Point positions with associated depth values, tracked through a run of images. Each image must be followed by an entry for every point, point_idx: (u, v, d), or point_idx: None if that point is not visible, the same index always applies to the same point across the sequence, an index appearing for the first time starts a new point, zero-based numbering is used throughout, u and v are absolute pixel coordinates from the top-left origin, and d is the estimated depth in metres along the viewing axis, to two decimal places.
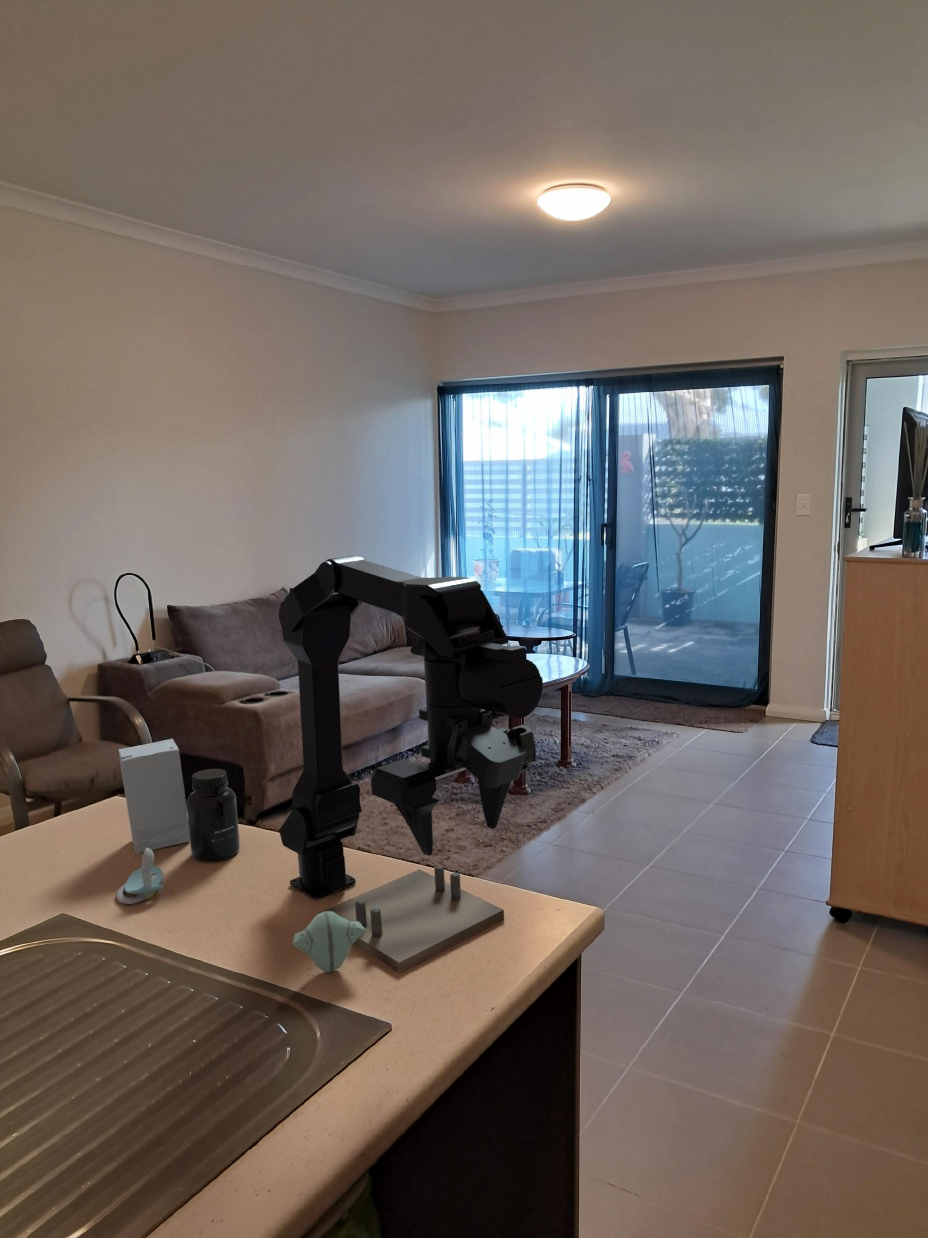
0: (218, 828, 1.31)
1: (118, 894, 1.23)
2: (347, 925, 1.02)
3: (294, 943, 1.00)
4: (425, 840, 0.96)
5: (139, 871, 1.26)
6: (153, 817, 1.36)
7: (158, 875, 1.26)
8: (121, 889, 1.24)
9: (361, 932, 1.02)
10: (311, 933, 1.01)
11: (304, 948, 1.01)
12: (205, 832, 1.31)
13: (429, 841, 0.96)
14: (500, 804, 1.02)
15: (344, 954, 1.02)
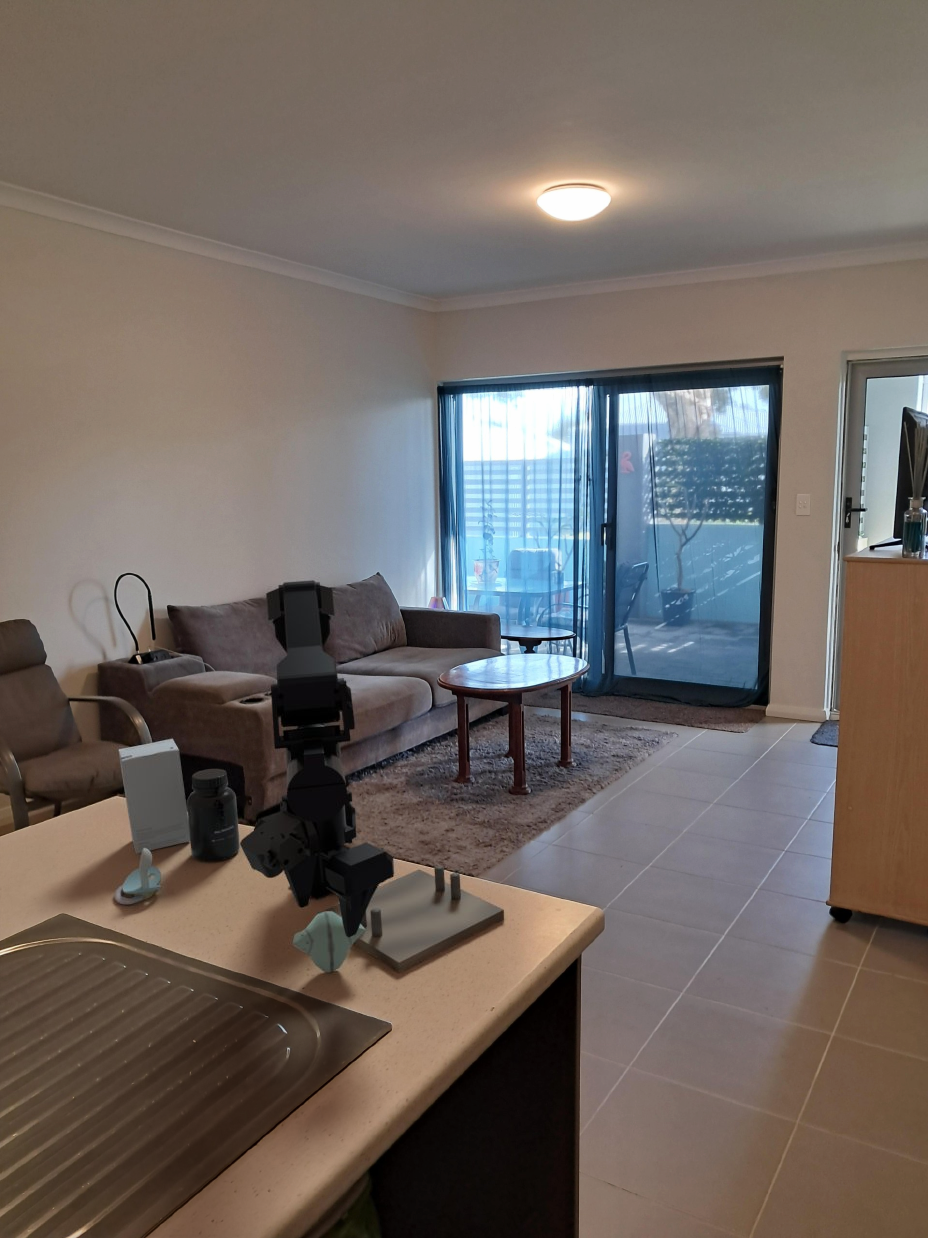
0: (218, 828, 1.32)
1: (116, 894, 1.22)
2: None
3: (294, 943, 1.00)
4: (293, 889, 1.06)
5: (137, 871, 1.26)
6: (153, 817, 1.36)
7: (156, 875, 1.26)
8: (119, 889, 1.24)
9: (361, 932, 1.02)
10: (311, 933, 1.01)
11: (304, 948, 1.01)
12: (205, 832, 1.31)
13: (294, 893, 1.05)
14: (343, 916, 0.98)
15: (344, 954, 1.02)
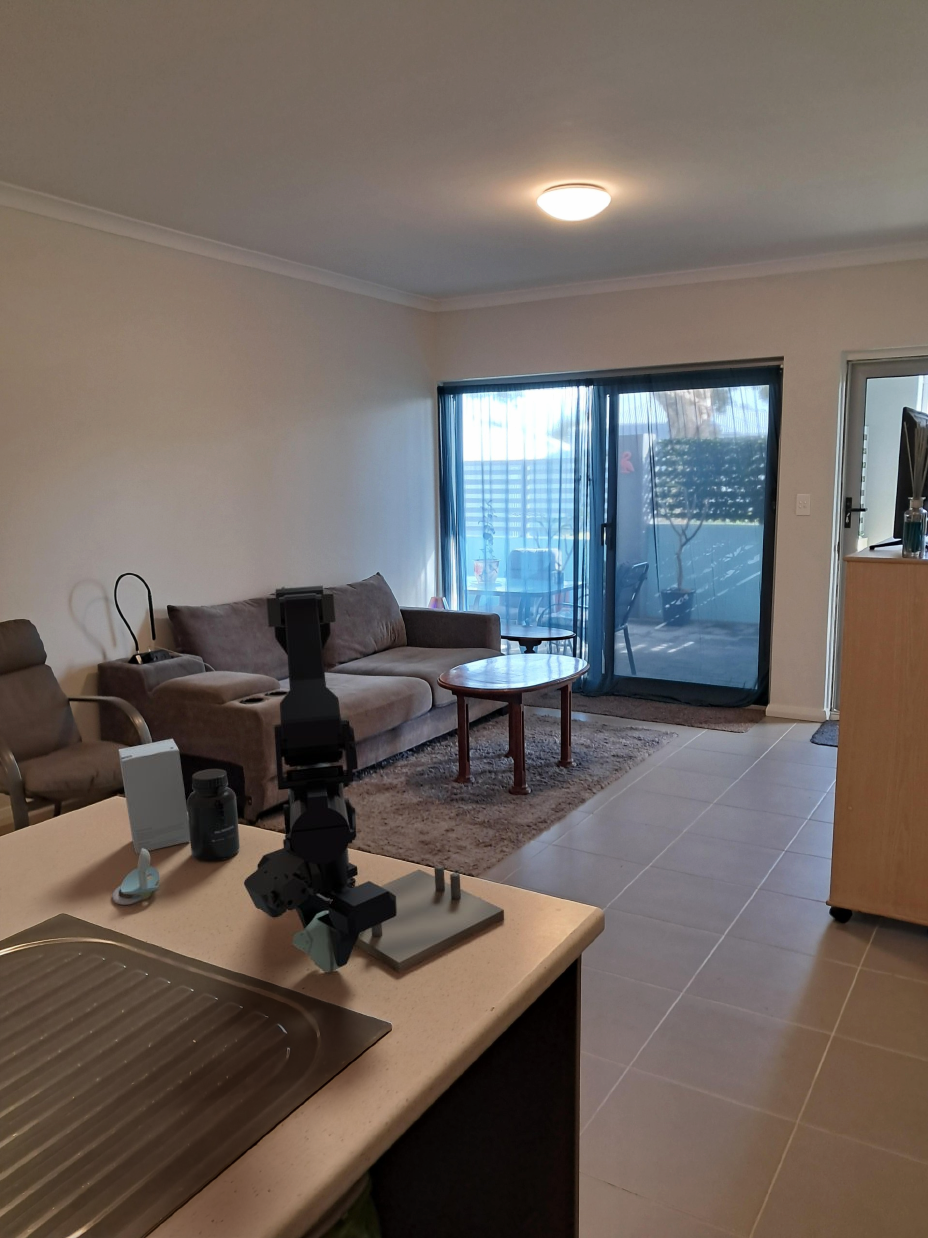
0: (218, 828, 1.31)
1: (114, 895, 1.22)
2: None
3: (294, 942, 1.00)
4: None
5: (135, 872, 1.26)
6: (153, 817, 1.36)
7: (154, 876, 1.26)
8: (117, 890, 1.24)
9: None
10: (310, 932, 1.01)
11: (304, 947, 1.01)
12: (205, 832, 1.31)
13: None
14: (334, 946, 1.00)
15: None
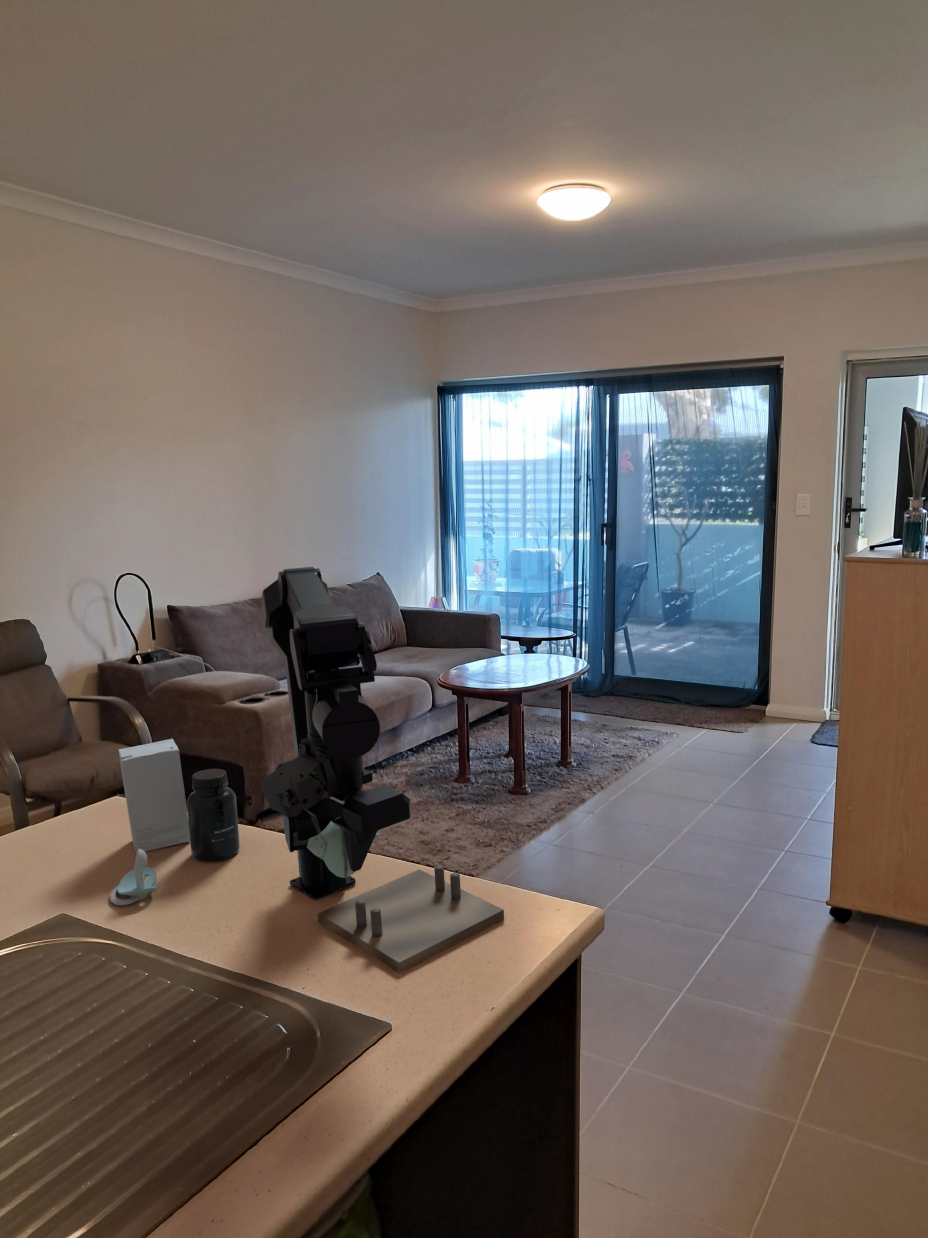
0: (218, 828, 1.32)
1: (111, 895, 1.22)
2: None
3: (308, 846, 1.01)
4: None
5: (132, 872, 1.26)
6: (153, 817, 1.36)
7: (151, 876, 1.26)
8: (114, 890, 1.24)
9: (375, 837, 1.03)
10: (325, 837, 1.02)
11: (318, 852, 1.02)
12: (205, 832, 1.31)
13: None
14: (348, 850, 1.01)
15: None
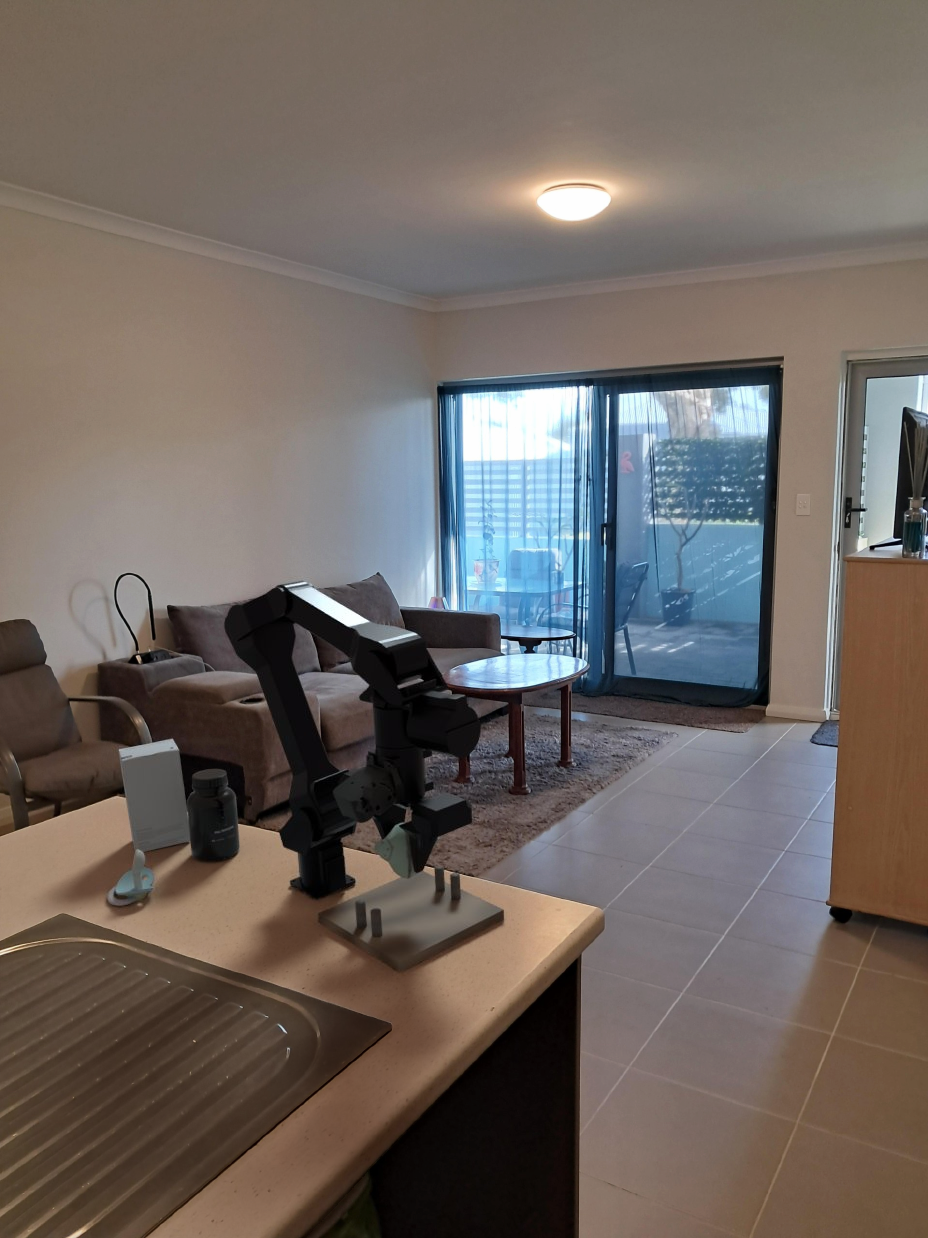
0: (218, 828, 1.31)
1: (109, 896, 1.22)
2: None
3: (376, 849, 1.09)
4: None
5: (130, 873, 1.26)
6: (153, 817, 1.36)
7: (149, 877, 1.26)
8: (112, 891, 1.23)
9: (436, 841, 1.12)
10: (391, 840, 1.10)
11: (385, 854, 1.10)
12: (205, 832, 1.31)
13: None
14: (413, 853, 1.09)
15: None
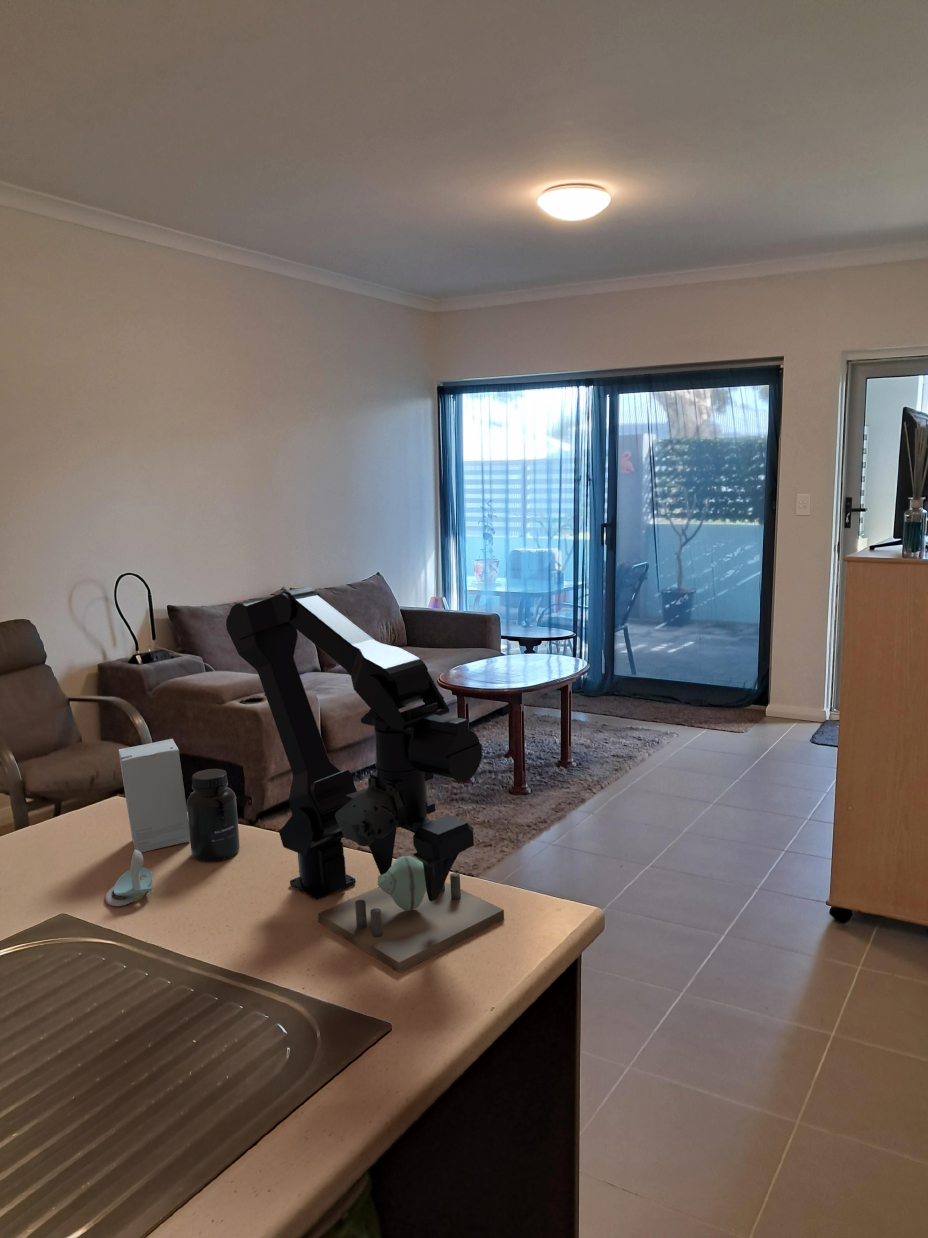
0: (218, 828, 1.31)
1: (107, 896, 1.22)
2: None
3: (379, 884, 1.10)
4: (375, 860, 1.16)
5: (128, 873, 1.26)
6: (153, 817, 1.36)
7: (147, 877, 1.26)
8: (110, 891, 1.23)
9: None
10: (394, 874, 1.11)
11: (388, 888, 1.11)
12: (205, 832, 1.31)
13: (377, 863, 1.15)
14: (427, 881, 1.08)
15: (423, 893, 1.12)
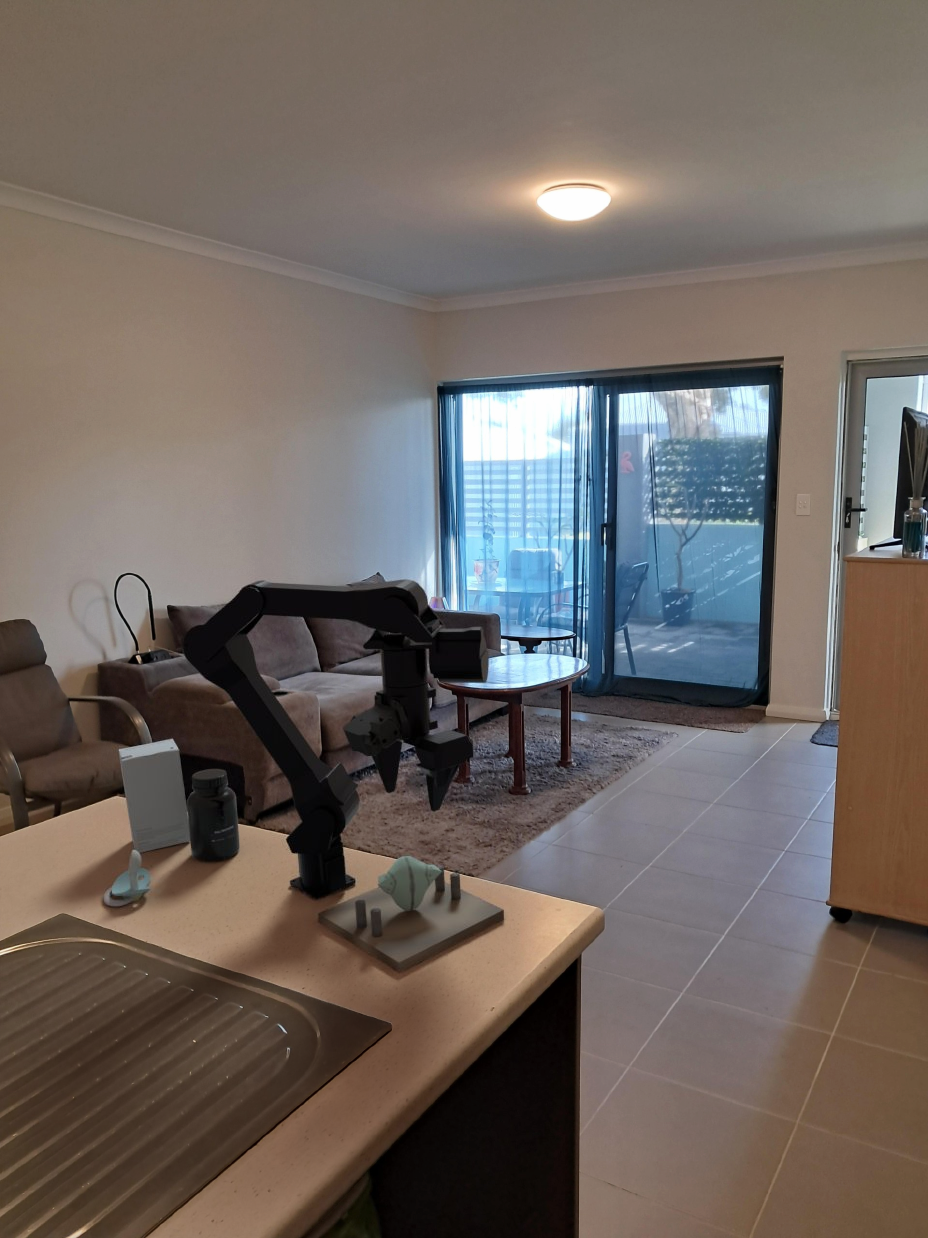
0: (218, 828, 1.31)
1: (105, 896, 1.22)
2: (425, 867, 1.12)
3: (379, 884, 1.10)
4: (381, 777, 1.23)
5: (126, 873, 1.26)
6: (153, 817, 1.36)
7: (145, 877, 1.26)
8: (108, 891, 1.23)
9: (438, 873, 1.13)
10: (394, 875, 1.11)
11: (388, 888, 1.11)
12: (205, 832, 1.31)
13: (382, 780, 1.22)
14: (430, 792, 1.14)
15: (423, 894, 1.12)
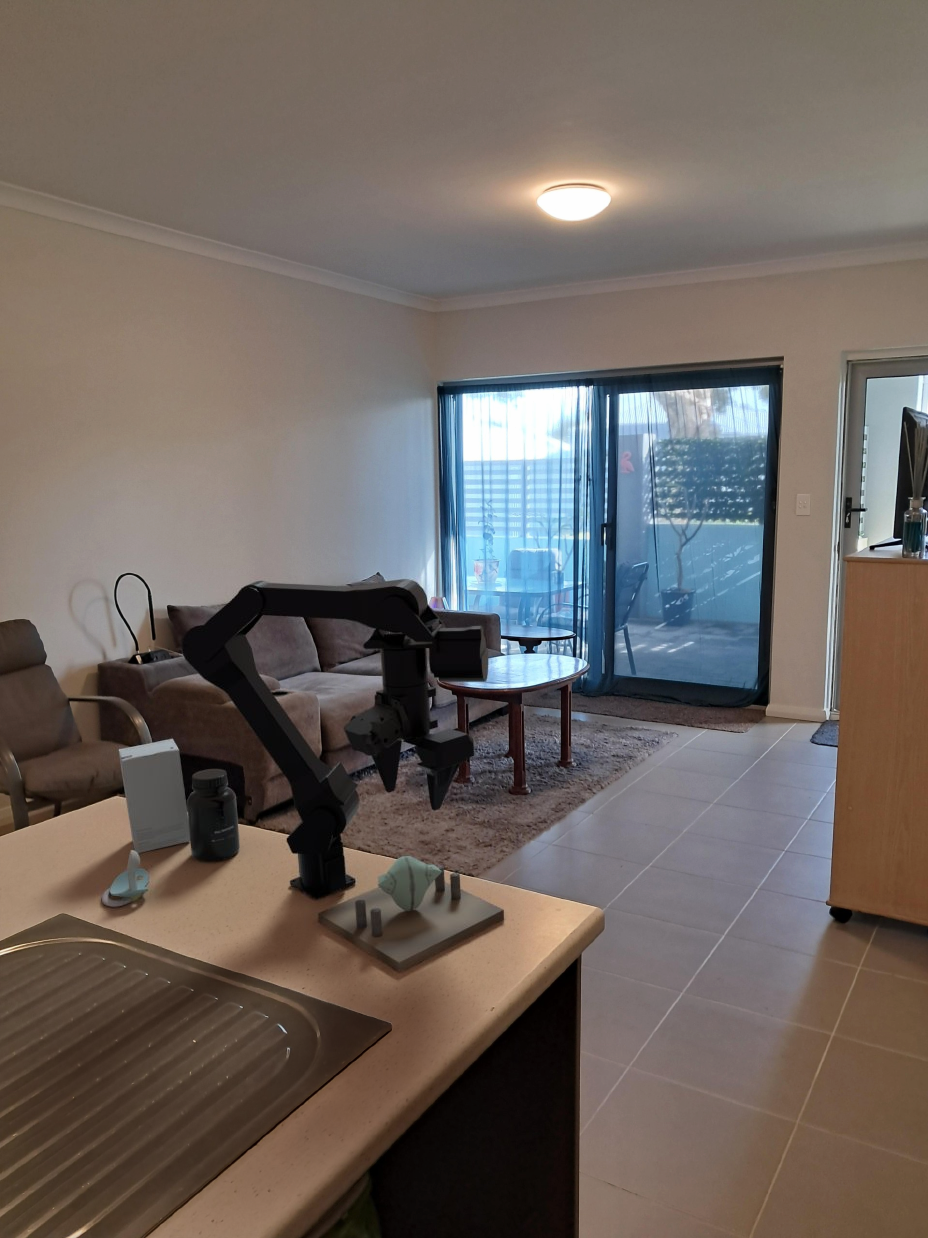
0: (218, 828, 1.32)
1: (103, 897, 1.22)
2: (425, 867, 1.12)
3: (379, 884, 1.10)
4: (381, 777, 1.23)
5: (125, 873, 1.26)
6: (153, 817, 1.36)
7: (144, 878, 1.26)
8: (107, 892, 1.23)
9: (438, 873, 1.13)
10: (394, 875, 1.11)
11: (388, 888, 1.11)
12: (205, 832, 1.31)
13: (382, 779, 1.22)
14: (430, 791, 1.15)
15: (423, 894, 1.12)
